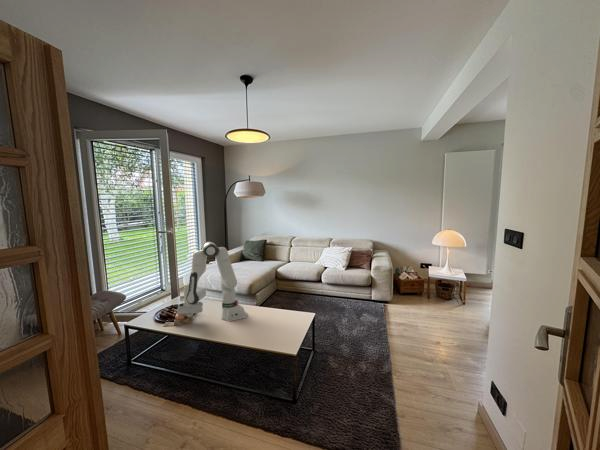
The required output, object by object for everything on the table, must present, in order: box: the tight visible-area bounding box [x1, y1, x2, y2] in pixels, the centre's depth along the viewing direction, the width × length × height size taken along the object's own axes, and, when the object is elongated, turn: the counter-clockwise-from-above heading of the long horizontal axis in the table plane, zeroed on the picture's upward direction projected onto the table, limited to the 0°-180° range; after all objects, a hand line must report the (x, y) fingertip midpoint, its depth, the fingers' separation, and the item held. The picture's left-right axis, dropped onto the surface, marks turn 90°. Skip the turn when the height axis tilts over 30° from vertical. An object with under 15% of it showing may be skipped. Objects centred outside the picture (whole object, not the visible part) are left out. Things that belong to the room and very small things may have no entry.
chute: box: [163, 314, 194, 328], centre depth 212 cm, size 21×10×4 cm, turn 104°
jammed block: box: [174, 313, 185, 320], centre depth 212 cm, size 6×6×6 cm
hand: (190, 318), depth 214 cm, fingers closed
